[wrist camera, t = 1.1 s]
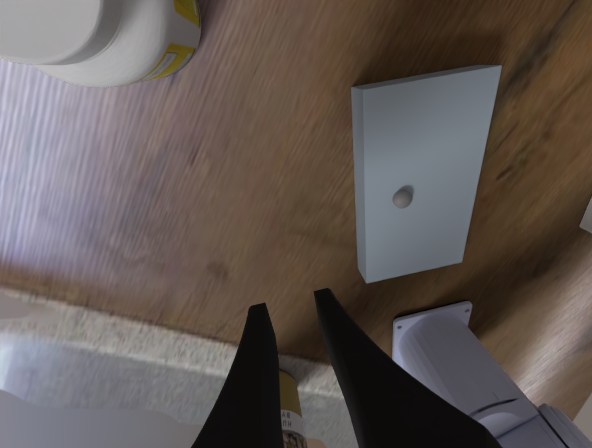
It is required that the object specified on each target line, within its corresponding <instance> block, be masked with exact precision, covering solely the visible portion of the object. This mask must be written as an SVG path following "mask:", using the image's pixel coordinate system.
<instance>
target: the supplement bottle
mask: <svg viewBox="0 0 592 448" xmlns="http://www.w3.org/2000/svg"><path fill="white" fill-rule="evenodd" d="M200 35H201V16H200V10H199V5H198V2H197V0H0V59H4V60H7V61H10V62H15V63H21V64H28V65H31V66H32V67H34V68H36V69H38V70H40V71H41V72H43V73H45V74H47V75H49V76H52V77H54V78H56V79H59V80H62V81H65V82H68V83H72V84H76V85H80V86H85V87H94V88H109V87H119V86H125V85H129V84H133V83H138V82H143V81H148V80H152V79H157V78H162V77H166V76H169V75H172V74H174V73H176V72H178V71H179V70H181V69H182V68H184V67H185V66H186V65H187V64H188V63H189V62H190V60H191V59H192V57H193V56H194V54H195V52H196V50H197V47H198V44H199V41H200Z"/></svg>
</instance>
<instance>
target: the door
mask: <svg viewBox="0 0 592 448" xmlns="http://www.w3.org/2000/svg"><path fill="white" fill-rule="evenodd" d="M501 68H502V65H474V66H468V67H462V68H457V69H451V70H445V71H440V72H434V73H428V74H423V75H417V76H411V77H405V78H400V79H394V80H388V81H383V82H377V83H371V84H366V85H360V86H354V87H351V96H352V123H353V150H354V176H355V203H356V229H357V256H358V269H359V271H360V273H361V275H362V277H363V278H364V280H365V282H366V284H367V283H371V282H376V281H380V280H385V279H389V278H393V277H398V276H402V275H407V274H411V273H416V272H420V271H425V270H429V269H434V268H438V267H443V266H447V265H452V264H456V263H461V262H462V259H463V254H464V249H465V244H466V239H467V234H468V230H469V225H470V220H471V215H472V210H473V205H474V200H475V195H476V190H477V185H478V181H479V176H480V171H481V166H482V161H483V156H484V151H485V146H486V141H487V137H488V132H489V127H490V122H491V117H492V112H493V107H494V102H495V97H496V92H497V88H498V83H499V78H500V73H501Z"/></svg>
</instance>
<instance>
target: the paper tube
mask: <svg viewBox="0 0 592 448" xmlns="http://www.w3.org/2000/svg"><path fill="white" fill-rule="evenodd" d="M279 381H280V404H281V422H282V432H283V440H284V448H307V443H306V437H305V431H304V425H303V420H302V414H301V408H300V402H299V396H298V389H297V385H296V382H295V380H294V379H293V378H292V377H291V376H290V375H289V374H287V373H285V372H283V371H279Z"/></svg>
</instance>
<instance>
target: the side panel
mask: <svg viewBox="0 0 592 448" xmlns="http://www.w3.org/2000/svg"><path fill="white" fill-rule="evenodd" d="M579 227H580V228H582V229H584V230H586V231H588V232H590V233H592V197H591V199H590V202H589V204H588V206H587V209H586V211H585V214H584V216H583V218H582V221H581V223H580V225H579Z"/></svg>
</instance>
